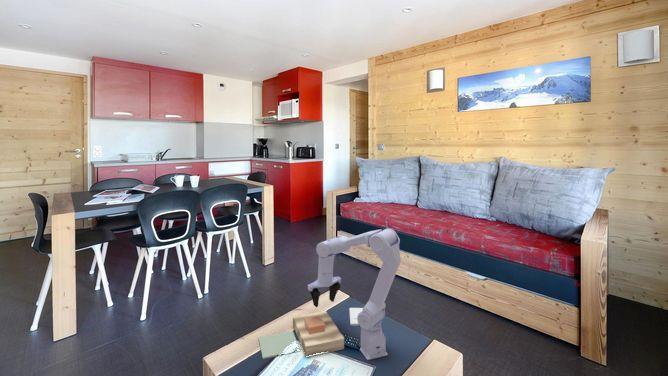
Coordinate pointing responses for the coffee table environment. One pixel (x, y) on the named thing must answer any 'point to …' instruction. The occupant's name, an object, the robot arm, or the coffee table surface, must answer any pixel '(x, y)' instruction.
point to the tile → (314, 324)
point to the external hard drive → (354, 316)
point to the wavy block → (318, 335)
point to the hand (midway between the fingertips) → (323, 303)
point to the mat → (276, 344)
